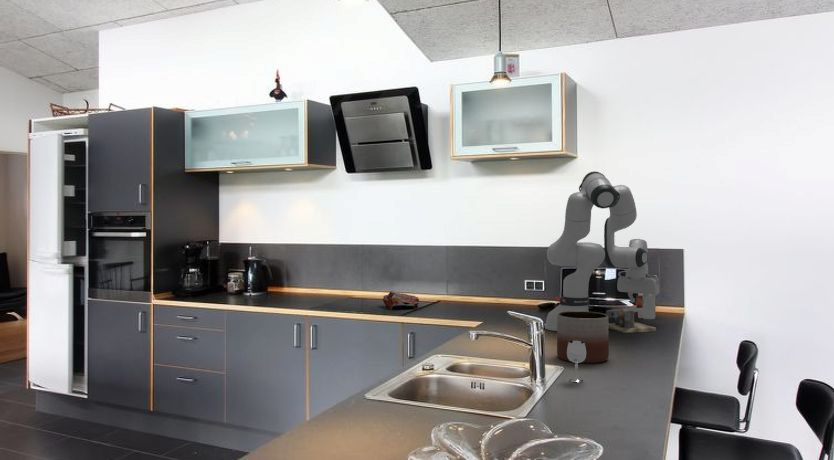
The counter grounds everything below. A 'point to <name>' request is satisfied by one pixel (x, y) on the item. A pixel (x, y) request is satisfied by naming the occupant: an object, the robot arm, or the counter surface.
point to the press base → (636, 328)
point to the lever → (615, 312)
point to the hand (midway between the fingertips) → (638, 302)
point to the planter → (583, 334)
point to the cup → (648, 308)
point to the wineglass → (576, 355)
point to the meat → (399, 299)
